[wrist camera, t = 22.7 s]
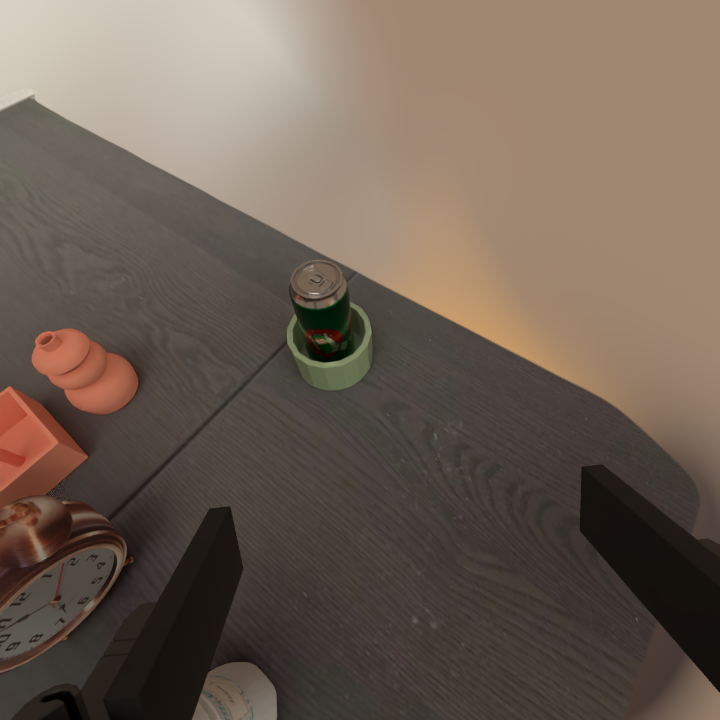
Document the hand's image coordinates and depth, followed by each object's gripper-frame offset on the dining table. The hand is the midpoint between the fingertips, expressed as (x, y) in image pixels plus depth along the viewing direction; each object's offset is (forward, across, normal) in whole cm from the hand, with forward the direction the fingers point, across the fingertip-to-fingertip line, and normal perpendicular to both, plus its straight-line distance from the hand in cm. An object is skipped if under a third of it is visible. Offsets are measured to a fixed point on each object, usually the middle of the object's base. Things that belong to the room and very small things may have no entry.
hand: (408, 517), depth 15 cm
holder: (+30, -4, 0) cm, 30 cm away
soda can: (+30, -4, 0) cm, 30 cm away
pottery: (+26, -32, -4) cm, 42 cm away
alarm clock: (+16, -26, -15) cm, 34 cm away
